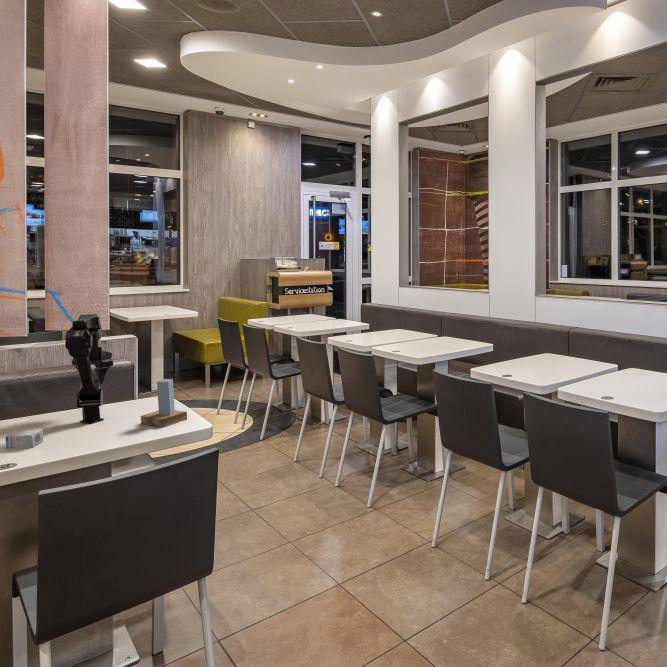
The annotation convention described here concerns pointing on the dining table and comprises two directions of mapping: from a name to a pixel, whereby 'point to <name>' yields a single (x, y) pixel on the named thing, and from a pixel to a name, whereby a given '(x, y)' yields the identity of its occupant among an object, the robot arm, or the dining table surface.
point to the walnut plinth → (163, 418)
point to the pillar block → (165, 396)
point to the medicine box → (24, 438)
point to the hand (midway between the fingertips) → (94, 383)
